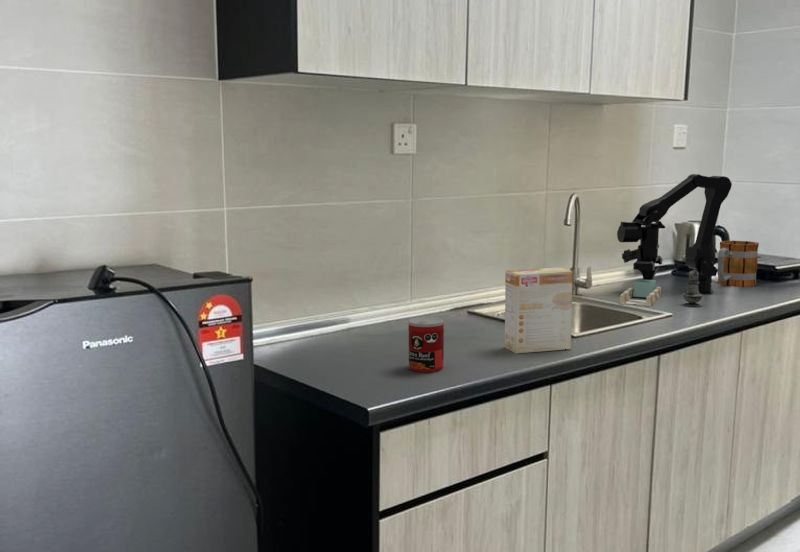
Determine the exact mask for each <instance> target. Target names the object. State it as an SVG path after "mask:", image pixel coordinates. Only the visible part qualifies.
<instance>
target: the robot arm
mask: <svg viewBox="0 0 800 552" xmlns="http://www.w3.org/2000/svg"><path fill="white" fill-rule="evenodd" d="M732 184H733V183H732V181H731V179H730V178H729V177H727V176H724V175H723V176H720V175H712V176H706V175H702V174H699V173H698V174H696V173H692V174H689V175H688V176H687V177H686V178H685V179H683V180H682V181H681V182H680V183H678V184H677V185H675V186H674V187H672V188H671V189H670V190H669V191H667V192H665V194H662V195H661V196H660V197H658V198H655V199H652V200H650V201H648V202H646V203H644V204H642V205H641V206H640V207H639V209H638V210H639V211H638V213H637V214H636V216H635V217H634V219H632V221H629V222H628V221H621V222H620V225H619V226H618V228H617V231H616V236H617V241H618V242H619V243H638V242H639V245H637V248H636V249H633V250H631V249H630V248H629V249H627V250H626V249H624V250H623V253H622V254H621V259H622V260H623V263H624V264H626V263H628V262H630V261H634V260H636V261H634V263H633V265H632V269H633V270H634V271H635V270H636V271H639V272H640V273H641V274H642V275H641V276H642V279H647V280H654V279H655V276H656V274H657V272H658V271H659V268H660V267H659V266H656V264H658V265H663V257H662V256H661V255H658V253H659V248H660V244H659V238H660V237H659V233H660V231H659V230H660V229H665V228H666V226H665V225H664V224H663V223H662V221H661V219H662V218H663V217H664V216H665V215H666V214H668V211H669V209H670V208H671V207H672V206H674V205H675V204H676V203H678V202H679V201H681V200H682V199H683V198H684V197H686V196H688V195H689V194H690V193H691V192H693V191H694V190H695V189H697V188H702V189H704V197H705V204H704V209H703V212H702V215H701V220H700V224H699V228H698V230H697V231H698V232H697V235H696V239H695V242H694V244H693V245H692V246H687V248H686V254H685V256H684V259H685V261H684V262H685V264H686V267H688V269H689V272H690V271H692V270H693V268H695V270H696V271H697V272H698V273H699V277H698V282H699V284H698V291H699V293H700V294H703V295H704V294H705V295H706V294H707V295H711V294H713V292H714V289H712V281H713V277H716V276H717V275H718V267H716V266H715V265H714V264H713V263H712V260H713V259H712V257H713V253H712V248H711V245H712V240H713V236H714V233H715V229H716V227H717V226H716V224H717V222H718V218H719V214H720V210H721V206H722V204H723V202H724V201H725V200H726V199H727V198H728V196H729V193H730V192H731V189H732Z"/></svg>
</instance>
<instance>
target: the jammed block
mask: <svg viewBox="0 0 800 552" xmlns="http://www.w3.org/2000/svg"><path fill="white" fill-rule="evenodd" d="M656 283H657V280H656V279H653V280H647V279H643V278H637V279H635V280H634V281H633V285H634V290H633V297H635V298H646V297H647V296H648V295H649V294H650V293H651V292H652V291H653V290H655V289H656V288H657V284H656ZM633 297H632V298H633Z"/></svg>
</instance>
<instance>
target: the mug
mask: <svg viewBox="0 0 800 552" xmlns="http://www.w3.org/2000/svg"><path fill="white" fill-rule="evenodd" d="M759 245H760V243H759V242H756V241H750V240H749V241H748V240H721V241H720V242H719V250H718V255H717V269H718V272H717V278H718V279H717V285H719V286H724V287H731V286H734V287H733V288H750V287H749V286H755V285H756V286H757V270H758V265H759V263H758V262H759V261H758V252H759ZM756 286H755V287H756Z"/></svg>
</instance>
